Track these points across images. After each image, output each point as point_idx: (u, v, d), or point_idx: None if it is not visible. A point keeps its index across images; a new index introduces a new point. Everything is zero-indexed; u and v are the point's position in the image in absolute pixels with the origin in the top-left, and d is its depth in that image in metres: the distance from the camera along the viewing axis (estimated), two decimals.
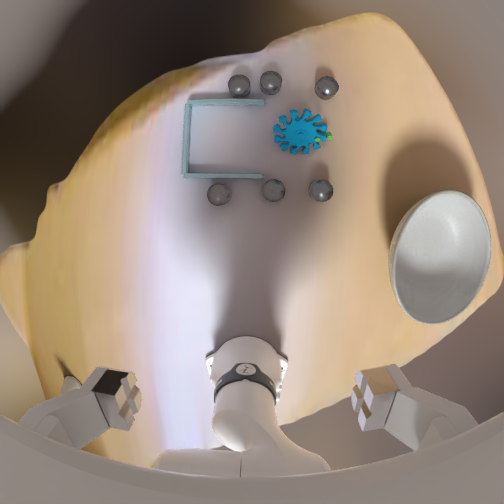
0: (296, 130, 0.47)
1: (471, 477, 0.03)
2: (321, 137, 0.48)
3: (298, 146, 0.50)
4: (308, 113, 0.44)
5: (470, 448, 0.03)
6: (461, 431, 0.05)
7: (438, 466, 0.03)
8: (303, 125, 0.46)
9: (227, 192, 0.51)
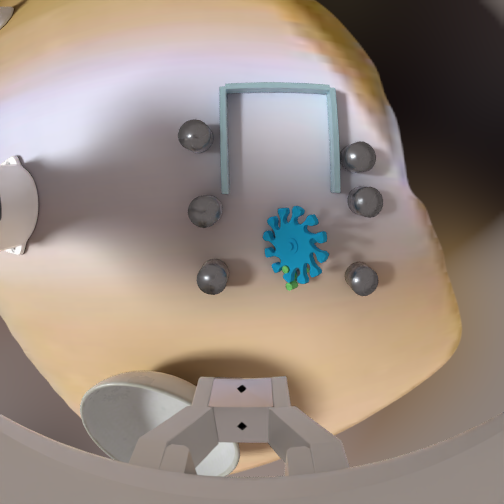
0: (296, 240, 0.35)
1: (471, 477, 0.03)
2: (288, 275, 0.37)
3: (274, 242, 0.38)
4: (322, 258, 0.33)
5: (470, 448, 0.03)
6: (320, 470, 0.05)
7: (438, 466, 0.03)
8: (303, 250, 0.34)
9: (196, 146, 0.33)
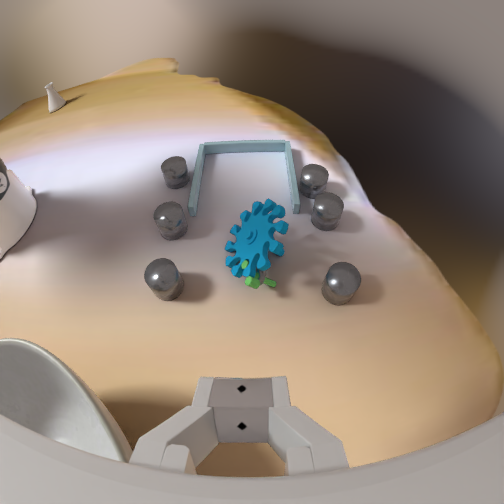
0: (255, 227, 0.33)
1: (471, 477, 0.03)
2: (248, 268, 0.32)
3: (235, 245, 0.35)
4: (280, 226, 0.30)
5: (470, 448, 0.03)
6: (320, 470, 0.05)
7: (438, 466, 0.03)
8: (263, 231, 0.32)
9: (173, 171, 0.41)
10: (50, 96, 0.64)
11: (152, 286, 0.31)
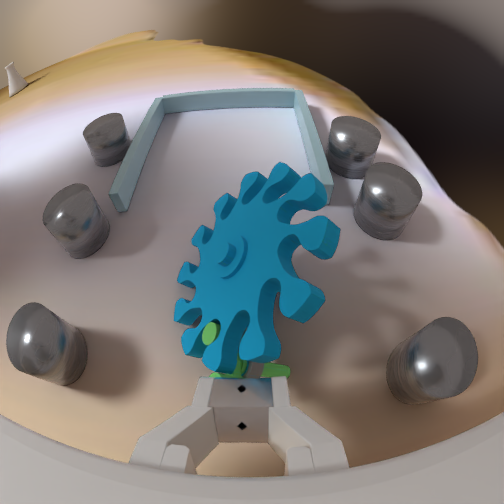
0: (243, 234, 0.13)
1: (471, 477, 0.03)
2: (216, 347, 0.11)
3: (195, 275, 0.15)
4: (318, 233, 0.09)
5: (470, 448, 0.03)
6: (320, 470, 0.05)
7: (438, 466, 0.03)
8: (262, 247, 0.11)
9: (99, 133, 0.20)
10: (10, 77, 0.44)
11: (15, 364, 0.10)
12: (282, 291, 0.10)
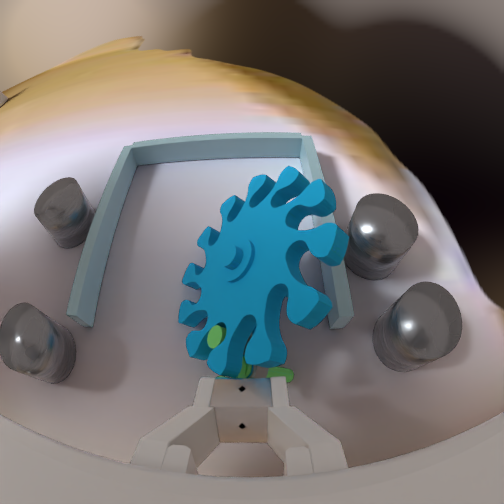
0: (251, 238, 0.13)
1: (471, 477, 0.03)
2: (221, 350, 0.11)
3: (201, 277, 0.15)
4: (327, 240, 0.09)
5: (470, 448, 0.03)
6: (319, 470, 0.05)
7: (438, 466, 0.03)
8: (270, 252, 0.11)
9: (50, 215, 0.15)
10: None
11: None
12: (290, 297, 0.10)
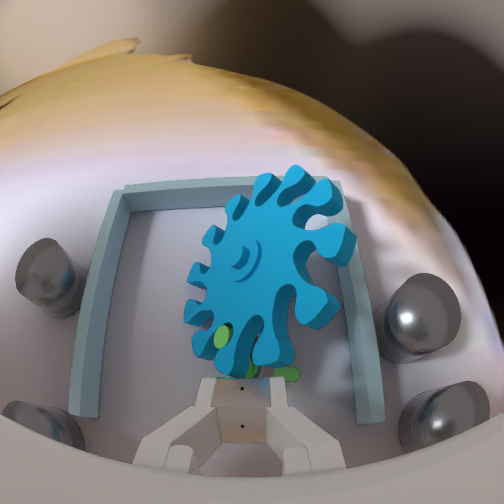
0: (257, 237, 0.13)
1: (471, 477, 0.03)
2: (228, 351, 0.11)
3: (206, 276, 0.15)
4: (335, 241, 0.09)
5: (470, 448, 0.03)
6: (317, 471, 0.05)
7: (438, 466, 0.03)
8: (277, 252, 0.11)
9: (33, 291, 0.12)
10: None
11: None
12: (298, 298, 0.09)
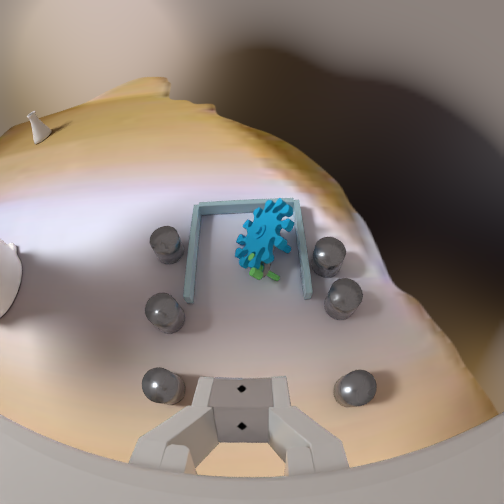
0: (265, 223, 0.36)
1: (471, 477, 0.03)
2: (253, 260, 0.34)
3: (245, 238, 0.38)
4: (286, 223, 0.33)
5: (470, 448, 0.03)
6: (320, 470, 0.05)
7: (438, 466, 0.03)
8: (270, 227, 0.35)
9: (164, 248, 0.36)
10: (33, 126, 0.60)
11: (152, 399, 0.26)
12: (275, 240, 0.33)
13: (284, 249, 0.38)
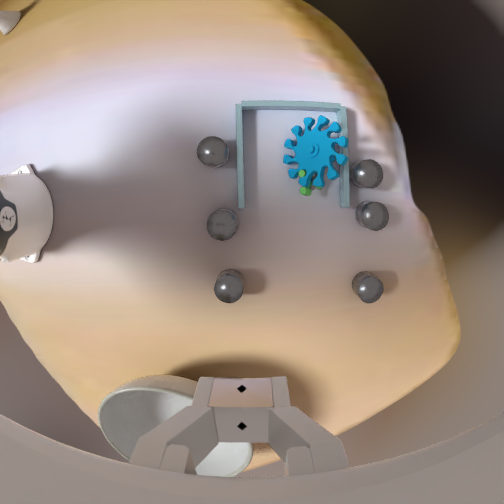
0: (318, 144, 0.34)
1: (471, 477, 0.03)
2: (304, 178, 0.36)
3: (294, 148, 0.37)
4: (341, 159, 0.32)
5: (470, 448, 0.03)
6: (320, 470, 0.05)
7: (438, 466, 0.03)
8: (324, 153, 0.34)
9: (215, 163, 0.36)
10: None
11: (224, 301, 0.40)
12: (328, 171, 0.33)
13: None
